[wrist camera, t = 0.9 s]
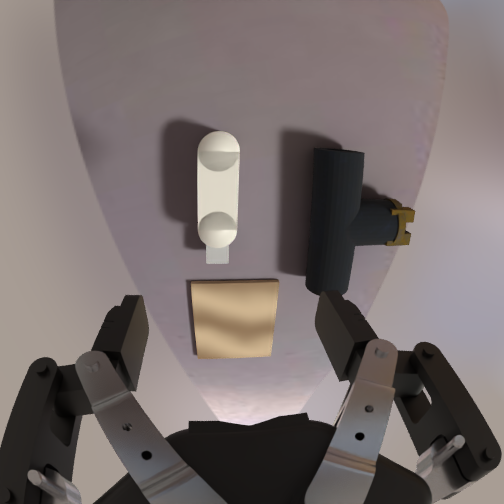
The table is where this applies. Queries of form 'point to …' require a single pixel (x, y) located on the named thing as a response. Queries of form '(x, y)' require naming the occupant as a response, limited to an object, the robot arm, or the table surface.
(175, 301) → the table surface
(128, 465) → the robot arm
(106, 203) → the table surface
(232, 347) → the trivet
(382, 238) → the pipe connector
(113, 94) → the table surface
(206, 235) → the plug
